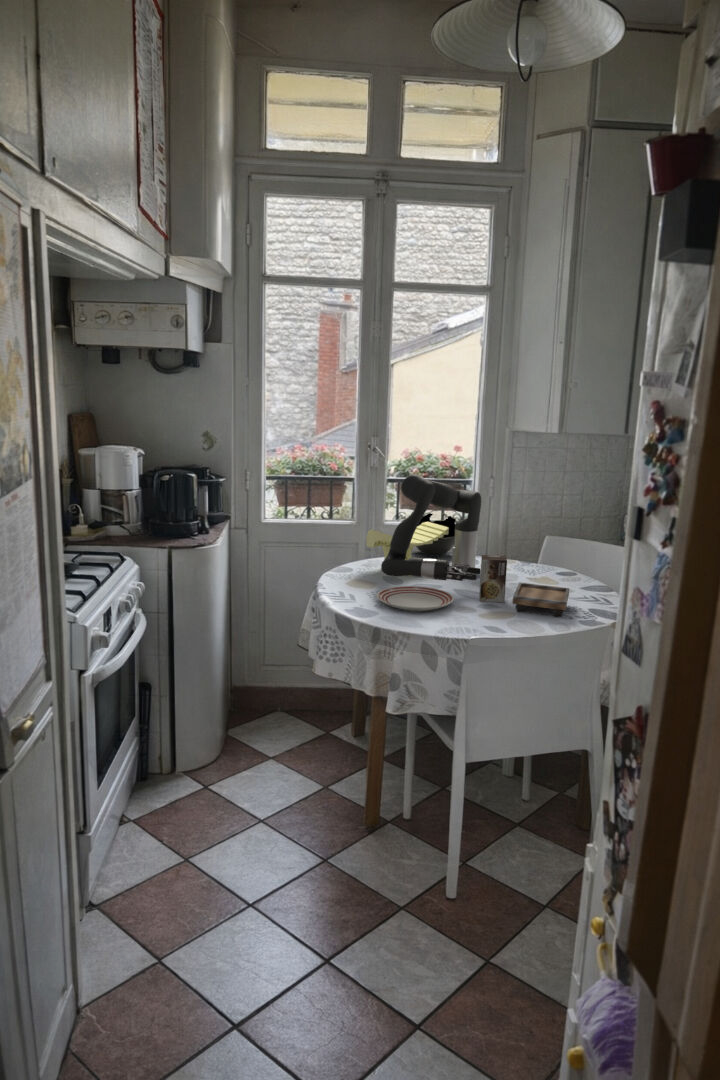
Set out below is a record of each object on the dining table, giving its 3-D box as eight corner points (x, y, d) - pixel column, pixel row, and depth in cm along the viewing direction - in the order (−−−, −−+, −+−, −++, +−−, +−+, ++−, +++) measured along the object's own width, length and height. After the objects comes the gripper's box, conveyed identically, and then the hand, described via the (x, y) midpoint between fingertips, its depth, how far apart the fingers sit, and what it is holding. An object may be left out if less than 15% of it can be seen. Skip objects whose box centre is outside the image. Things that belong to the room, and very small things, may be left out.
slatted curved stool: (420, 560, 344) (422, 520, 339) (446, 569, 331) (448, 527, 327) (365, 570, 326) (367, 527, 322) (390, 579, 313) (392, 535, 309)
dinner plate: (364, 596, 292) (364, 587, 292) (430, 589, 303) (431, 581, 302) (396, 620, 268) (397, 610, 267) (467, 612, 279) (468, 603, 278)
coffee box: (503, 597, 296) (506, 555, 292) (504, 603, 290) (508, 560, 286) (478, 596, 297) (481, 554, 293) (479, 601, 290) (482, 558, 287)
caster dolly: (511, 612, 279) (513, 596, 278) (518, 597, 296) (519, 582, 295) (564, 619, 274) (566, 602, 273) (567, 604, 291) (569, 588, 290)
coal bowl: (401, 553, 355) (403, 511, 350) (434, 547, 367) (436, 507, 362) (431, 563, 339) (434, 520, 335) (465, 557, 351) (468, 515, 347)
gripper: (431, 564, 290) (475, 569, 285) (439, 555, 303) (482, 559, 298) (430, 583, 292) (474, 589, 287) (438, 574, 305) (480, 579, 300)
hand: (478, 574), depth 293 cm, fingers open, 8 cm apart
